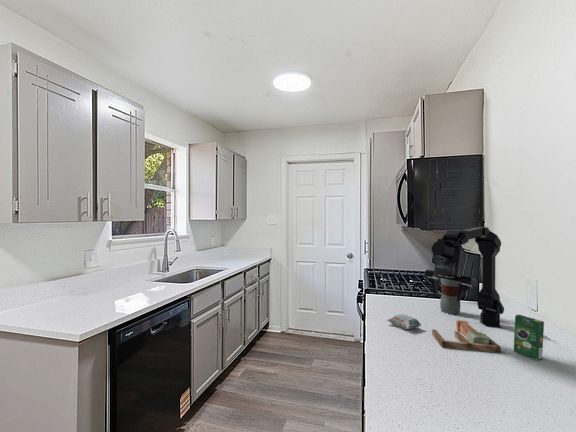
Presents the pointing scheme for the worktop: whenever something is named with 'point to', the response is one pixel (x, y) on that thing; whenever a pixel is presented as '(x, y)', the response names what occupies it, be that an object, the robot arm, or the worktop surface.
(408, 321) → the packaged food
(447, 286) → the bottle
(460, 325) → the block
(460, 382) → the worktop surface
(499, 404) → the worktop surface
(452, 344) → the lane rack
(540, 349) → the coffee box
